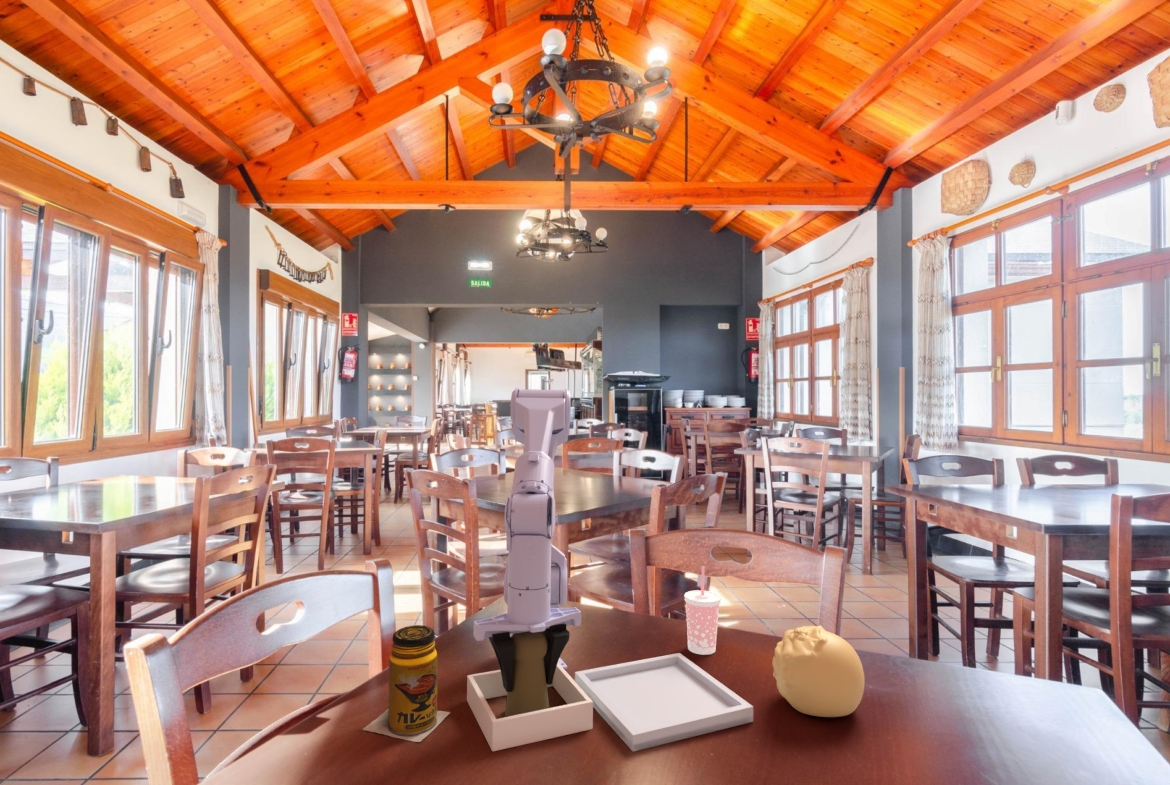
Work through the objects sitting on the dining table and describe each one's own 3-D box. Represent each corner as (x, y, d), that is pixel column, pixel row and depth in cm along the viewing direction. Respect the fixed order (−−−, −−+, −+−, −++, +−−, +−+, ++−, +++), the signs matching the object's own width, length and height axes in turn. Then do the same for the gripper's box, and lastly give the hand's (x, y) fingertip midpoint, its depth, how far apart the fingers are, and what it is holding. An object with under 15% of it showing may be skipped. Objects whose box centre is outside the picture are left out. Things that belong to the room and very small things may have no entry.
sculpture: (773, 680, 94) (775, 609, 94) (860, 695, 90) (861, 620, 90) (769, 718, 83) (770, 637, 83) (867, 736, 79) (869, 652, 79)
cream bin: (466, 700, 86) (467, 675, 86) (555, 683, 92) (555, 660, 92) (492, 751, 74) (492, 722, 74) (592, 728, 80) (593, 701, 80)
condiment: (420, 743, 76) (421, 645, 76) (361, 731, 78) (363, 636, 78) (450, 714, 83) (452, 624, 83) (395, 703, 85) (397, 616, 85)
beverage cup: (712, 659, 101) (714, 573, 101) (677, 650, 104) (679, 567, 104) (725, 647, 106) (726, 565, 106) (691, 638, 109) (692, 559, 109)
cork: (543, 729, 80) (544, 643, 79) (498, 723, 81) (499, 638, 81) (554, 705, 85) (556, 625, 85) (512, 700, 87) (513, 621, 87)
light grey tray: (574, 685, 91) (574, 672, 91) (679, 665, 99) (679, 652, 99) (632, 751, 75) (633, 735, 75) (753, 721, 82) (753, 706, 82)
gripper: (483, 599, 76) (482, 709, 76) (591, 586, 82) (589, 688, 82) (470, 582, 83) (468, 684, 83) (570, 571, 89) (569, 666, 89)
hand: (527, 684), depth 83 cm, fingers closed on cork, 5 cm apart
